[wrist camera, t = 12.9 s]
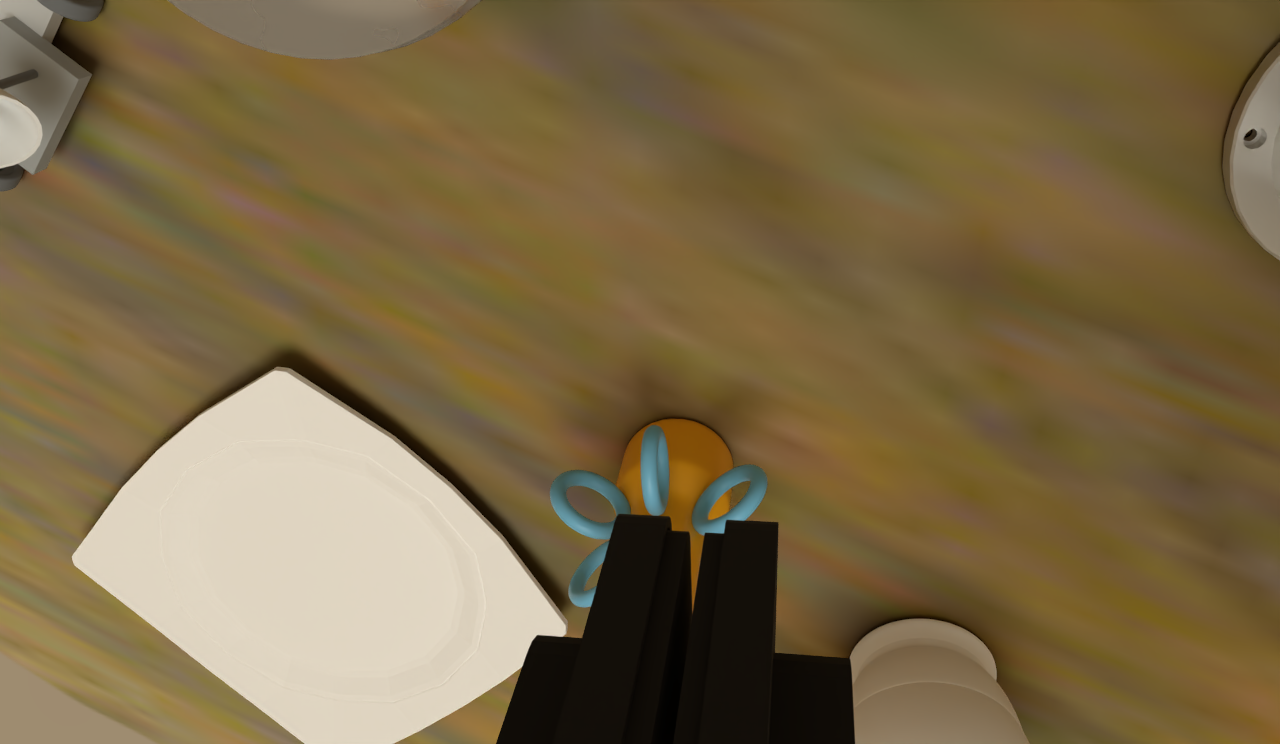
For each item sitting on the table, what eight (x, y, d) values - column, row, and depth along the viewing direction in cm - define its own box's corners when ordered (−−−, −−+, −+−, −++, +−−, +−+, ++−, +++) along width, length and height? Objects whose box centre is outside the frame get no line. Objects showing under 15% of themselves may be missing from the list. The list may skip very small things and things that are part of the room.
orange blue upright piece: (567, 368, 52) (491, 551, 39) (767, 359, 50) (755, 548, 38) (600, 551, 58) (543, 764, 45) (780, 550, 56) (775, 771, 43)
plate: (605, 602, 60) (597, 634, 58) (356, 754, 71) (341, 785, 68) (298, 316, 54) (275, 339, 51) (71, 530, 64) (44, 557, 62)
